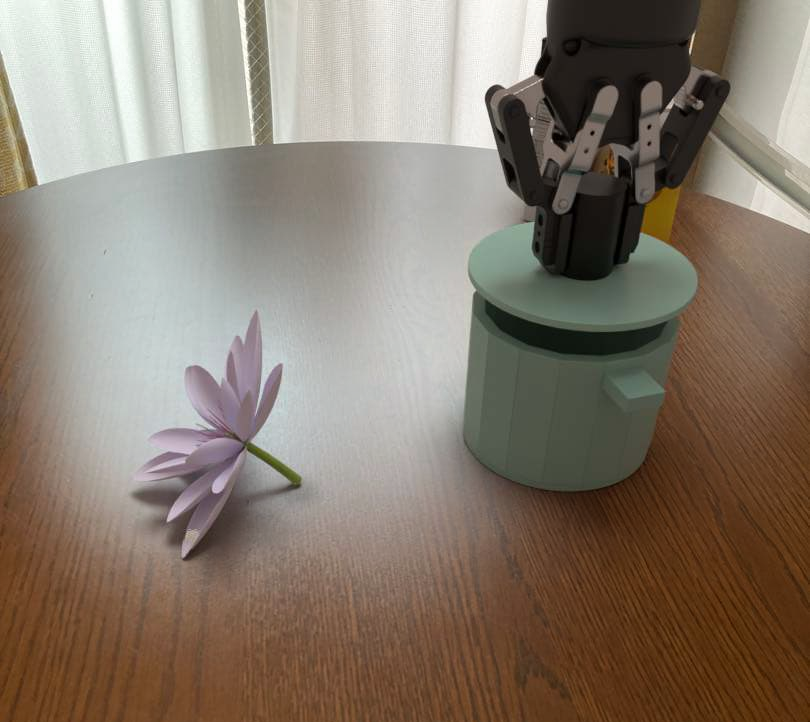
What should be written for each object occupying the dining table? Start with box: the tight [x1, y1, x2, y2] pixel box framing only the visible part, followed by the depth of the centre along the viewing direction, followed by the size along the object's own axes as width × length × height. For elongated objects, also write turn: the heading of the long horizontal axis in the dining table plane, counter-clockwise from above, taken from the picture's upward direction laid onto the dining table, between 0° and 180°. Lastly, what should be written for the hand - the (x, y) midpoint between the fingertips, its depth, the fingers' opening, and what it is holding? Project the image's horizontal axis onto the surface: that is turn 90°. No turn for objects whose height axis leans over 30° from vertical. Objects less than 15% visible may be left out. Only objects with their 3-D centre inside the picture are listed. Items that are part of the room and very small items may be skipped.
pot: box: [462, 289, 681, 492], centre depth 60 cm, size 13×18×10 cm
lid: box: [467, 172, 699, 332], centre depth 54 cm, size 14×14×6 cm
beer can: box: [606, 98, 682, 245], centre depth 75 cm, size 6×6×15 cm
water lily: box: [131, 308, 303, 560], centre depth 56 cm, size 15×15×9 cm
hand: (583, 262), depth 55 cm, fingers closed on lid, 3 cm apart
